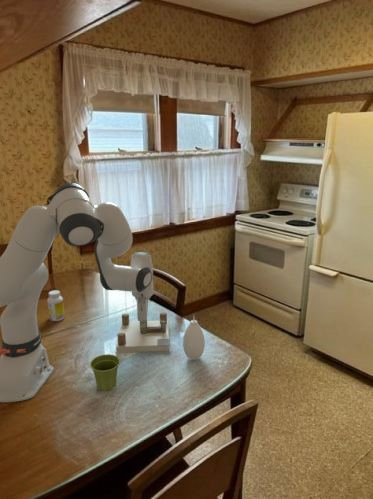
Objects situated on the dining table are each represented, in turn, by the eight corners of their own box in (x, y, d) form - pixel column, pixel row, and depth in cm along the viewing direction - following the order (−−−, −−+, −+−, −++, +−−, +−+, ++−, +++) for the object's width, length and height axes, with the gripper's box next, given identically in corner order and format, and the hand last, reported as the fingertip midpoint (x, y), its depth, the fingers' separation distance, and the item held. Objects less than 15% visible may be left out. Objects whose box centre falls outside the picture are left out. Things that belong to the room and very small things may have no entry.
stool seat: (170, 351, 140) (169, 336, 138) (116, 353, 139) (115, 338, 137) (169, 325, 160) (168, 311, 158) (121, 326, 158) (121, 313, 156)
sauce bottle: (186, 366, 131) (186, 321, 125) (180, 354, 138) (180, 311, 133) (207, 362, 133) (207, 318, 127) (200, 351, 140) (201, 308, 135)
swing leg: (166, 332, 148) (165, 320, 146) (139, 333, 147) (139, 321, 145) (165, 329, 150) (165, 316, 149) (140, 329, 150) (139, 317, 148)
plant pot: (108, 372, 127) (107, 350, 125) (127, 383, 122) (125, 361, 119) (86, 386, 120) (84, 363, 118) (104, 398, 115) (102, 374, 112)
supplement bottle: (67, 315, 169) (64, 289, 165) (61, 322, 162) (58, 295, 159) (53, 314, 169) (50, 289, 166) (46, 321, 163) (43, 295, 159)
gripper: (149, 300, 139) (150, 332, 143) (150, 280, 159) (151, 309, 163) (133, 300, 139) (134, 333, 143) (136, 280, 159) (137, 309, 163)
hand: (143, 320), depth 153 cm, fingers closed
